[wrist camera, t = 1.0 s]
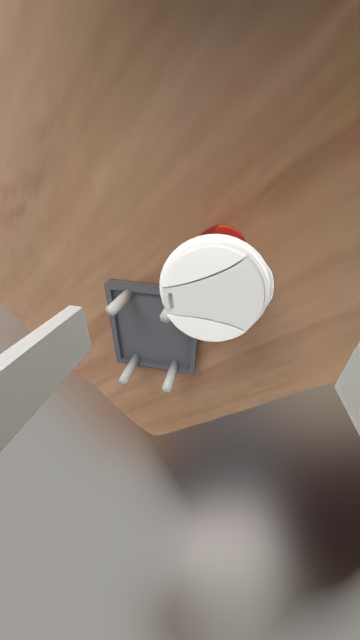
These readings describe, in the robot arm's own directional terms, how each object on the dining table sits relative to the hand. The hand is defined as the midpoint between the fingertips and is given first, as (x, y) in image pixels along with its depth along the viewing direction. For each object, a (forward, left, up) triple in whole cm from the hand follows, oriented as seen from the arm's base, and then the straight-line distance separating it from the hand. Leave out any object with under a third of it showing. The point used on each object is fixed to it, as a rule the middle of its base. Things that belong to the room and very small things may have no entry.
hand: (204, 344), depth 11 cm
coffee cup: (0, 0, -20) cm, 20 cm away
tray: (+13, -9, -20) cm, 25 cm away
